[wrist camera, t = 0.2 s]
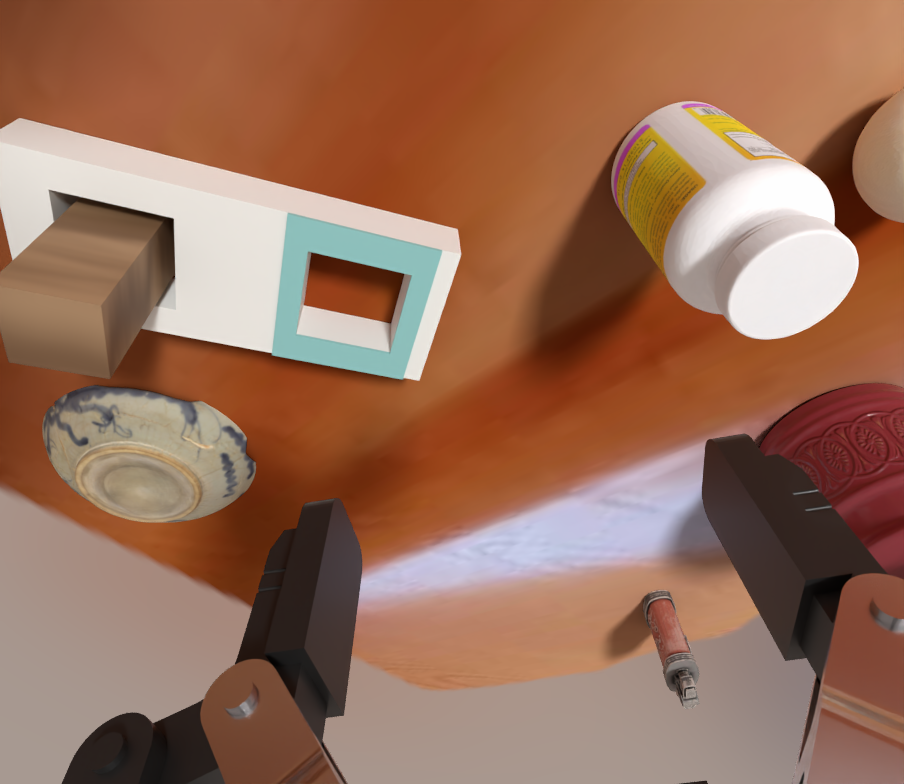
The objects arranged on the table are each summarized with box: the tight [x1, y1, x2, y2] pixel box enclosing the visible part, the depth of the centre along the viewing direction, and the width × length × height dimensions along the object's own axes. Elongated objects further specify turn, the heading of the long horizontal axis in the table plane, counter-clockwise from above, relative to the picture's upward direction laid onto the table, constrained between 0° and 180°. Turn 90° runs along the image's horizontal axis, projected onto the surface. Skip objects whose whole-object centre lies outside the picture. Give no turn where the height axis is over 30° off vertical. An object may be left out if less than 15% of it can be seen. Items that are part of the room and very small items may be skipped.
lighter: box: [643, 590, 699, 709], centre depth 60 cm, size 8×3×10 cm, turn 16°
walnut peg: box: [0, 197, 175, 379], centre depth 27 cm, size 4×4×10 cm
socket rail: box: [0, 118, 461, 381], centre depth 31 cm, size 9×22×3 cm, turn 73°
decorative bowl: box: [42, 385, 256, 522], centre depth 42 cm, size 15×4×15 cm
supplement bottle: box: [611, 101, 858, 339], centre depth 26 cm, size 7×7×13 cm
